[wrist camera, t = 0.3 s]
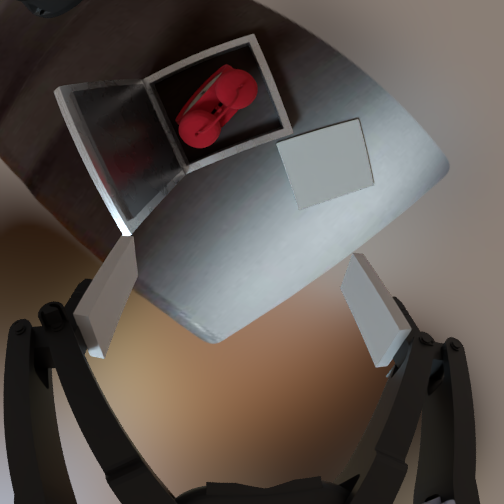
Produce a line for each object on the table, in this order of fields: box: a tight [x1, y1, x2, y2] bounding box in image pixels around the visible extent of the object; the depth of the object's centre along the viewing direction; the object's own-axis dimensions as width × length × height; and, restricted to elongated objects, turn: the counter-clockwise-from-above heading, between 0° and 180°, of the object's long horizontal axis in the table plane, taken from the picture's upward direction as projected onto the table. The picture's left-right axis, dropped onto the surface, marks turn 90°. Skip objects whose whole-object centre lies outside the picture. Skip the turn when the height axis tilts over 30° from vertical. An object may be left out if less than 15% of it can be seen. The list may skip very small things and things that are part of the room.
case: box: [142, 34, 293, 175], centre depth 32 cm, size 15×16×3 cm
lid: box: [54, 79, 185, 236], centre depth 25 cm, size 15×16×1 cm
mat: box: [276, 119, 374, 210], centre depth 39 cm, size 11×13×1 cm
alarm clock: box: [175, 64, 257, 148], centre depth 27 cm, size 10×6×15 cm, turn 137°
